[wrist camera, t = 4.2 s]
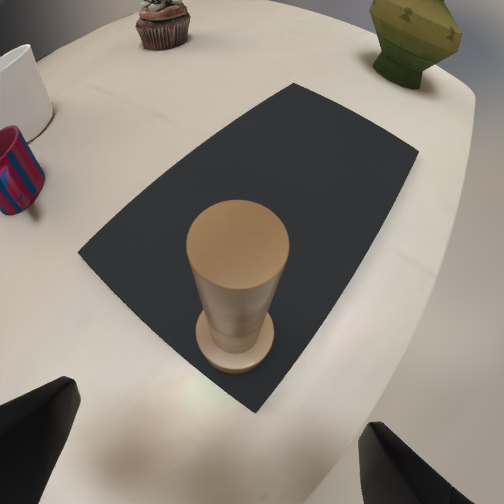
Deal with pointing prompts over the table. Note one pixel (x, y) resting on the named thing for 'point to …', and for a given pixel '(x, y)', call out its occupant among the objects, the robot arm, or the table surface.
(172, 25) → the cupcake
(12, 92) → the mug
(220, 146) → the mat
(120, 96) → the table surface
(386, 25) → the vase
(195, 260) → the stick
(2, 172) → the cup
